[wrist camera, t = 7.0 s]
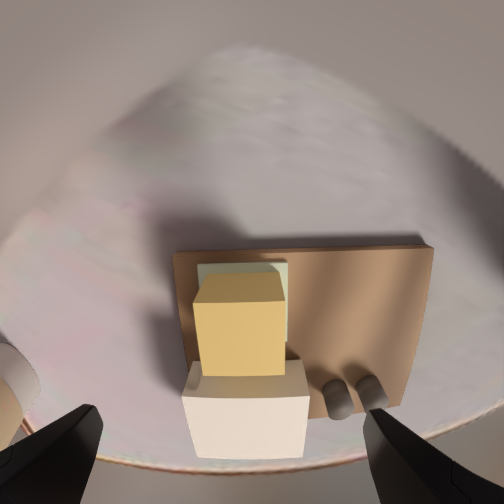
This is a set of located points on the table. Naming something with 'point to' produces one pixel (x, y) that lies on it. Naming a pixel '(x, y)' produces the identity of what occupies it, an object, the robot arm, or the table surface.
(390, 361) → the board
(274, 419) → the cover
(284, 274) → the thin mint green panel
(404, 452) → the robot arm
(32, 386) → the coffee cup
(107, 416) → the table surface
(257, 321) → the block
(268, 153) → the table surface
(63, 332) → the table surface
